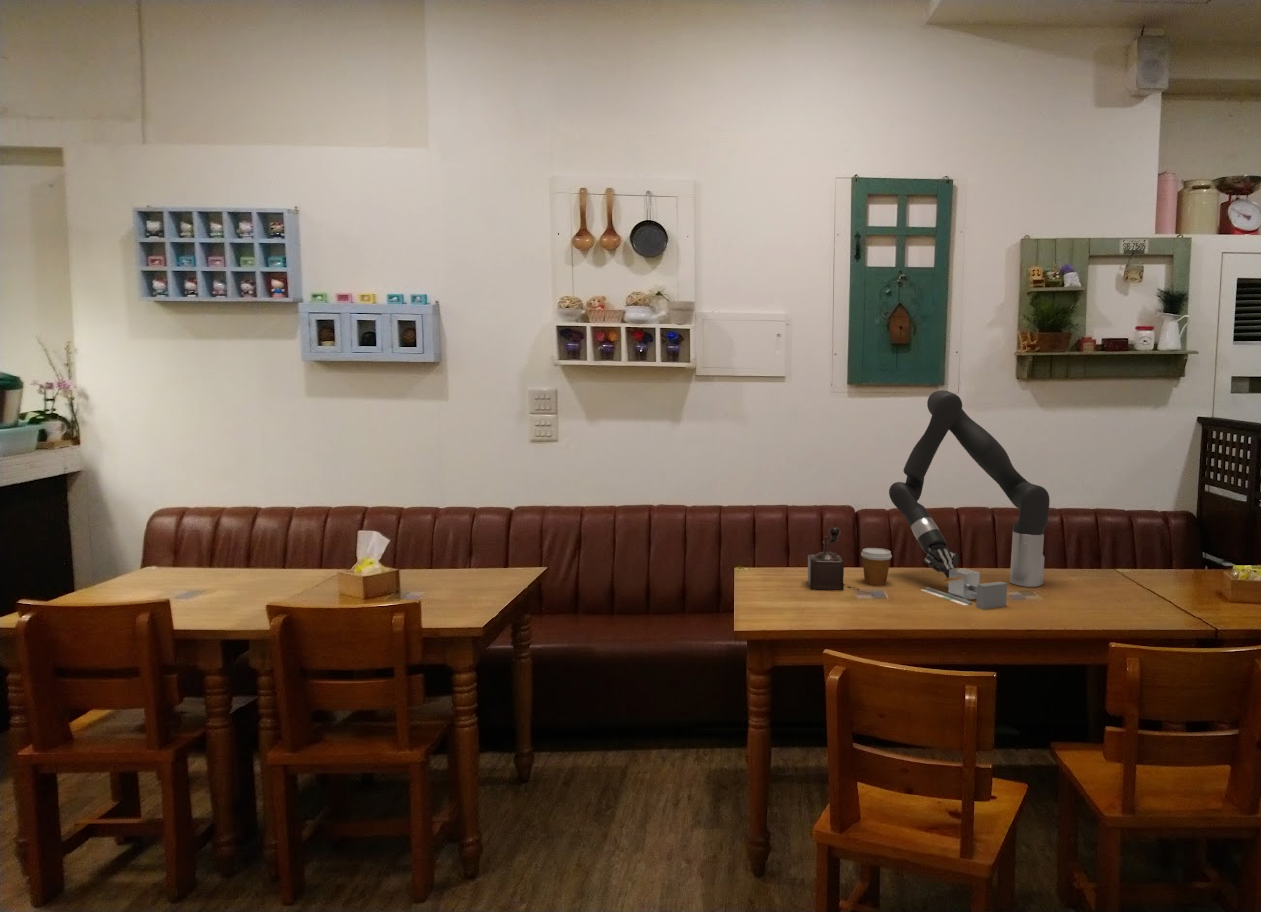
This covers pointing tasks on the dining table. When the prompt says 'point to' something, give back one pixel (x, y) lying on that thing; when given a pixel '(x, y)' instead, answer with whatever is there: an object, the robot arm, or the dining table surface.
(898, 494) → the robot arm
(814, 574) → the manual coffee grinder
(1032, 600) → the dining table surface
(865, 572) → the disposable coffee cup
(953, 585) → the gauge carriage
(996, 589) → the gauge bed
